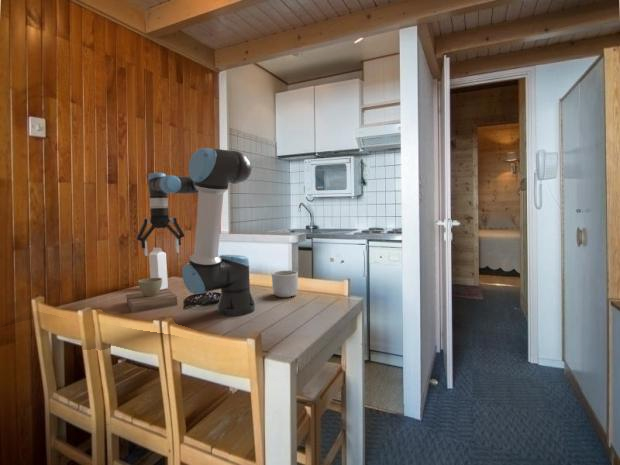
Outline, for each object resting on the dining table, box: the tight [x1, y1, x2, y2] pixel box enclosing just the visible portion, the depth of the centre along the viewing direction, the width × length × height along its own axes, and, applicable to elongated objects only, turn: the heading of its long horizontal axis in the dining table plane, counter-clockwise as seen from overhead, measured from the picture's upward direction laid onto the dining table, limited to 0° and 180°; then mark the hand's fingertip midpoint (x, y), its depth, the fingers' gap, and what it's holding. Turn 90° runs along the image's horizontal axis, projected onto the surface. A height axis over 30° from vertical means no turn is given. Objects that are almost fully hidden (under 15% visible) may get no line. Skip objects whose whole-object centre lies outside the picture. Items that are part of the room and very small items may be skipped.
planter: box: [271, 270, 299, 298], centre depth 167 cm, size 12×12×11 cm
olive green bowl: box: [137, 277, 162, 297], centre depth 157 cm, size 10×10×7 cm
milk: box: [148, 247, 169, 290], centre depth 187 cm, size 6×6×22 cm
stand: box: [126, 288, 178, 314], centre depth 158 cm, size 18×18×4 cm
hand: (162, 254), depth 161 cm, fingers open, 13 cm apart
